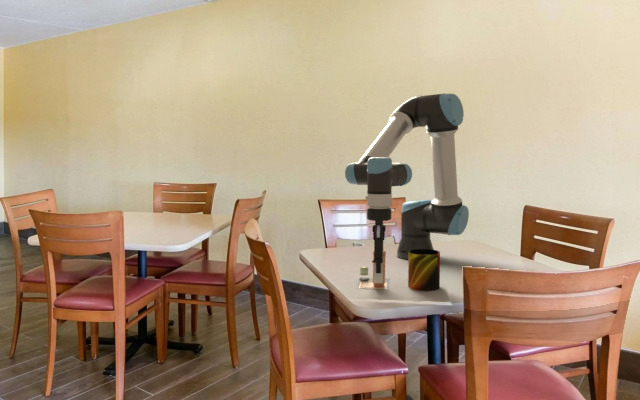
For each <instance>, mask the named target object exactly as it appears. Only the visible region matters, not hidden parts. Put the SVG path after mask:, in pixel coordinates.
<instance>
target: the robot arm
mask: <svg viewBox="0 0 640 400" xmlns="http://www.w3.org/2000/svg"><path fill="white" fill-rule="evenodd" d="M464 114H465V113H464V106H463V103H462V101H461V99H460V98H459V96H458V95H457V94H456V93H444V92H443V93H437V94H436V93H435V94H428V95H416V96H414V97H411V98H409V99H406V100H405V101H404V102H403V103H402V104H400V105H399V106H398V107H396V109H395V110H394V111H393V112H392V113H391V115H389V119H388V123H387V124H386V126H384V128H383V129H382V131H381V132H379V134H378V136H377V137H376V139H375V140H374V141H373V142H372V143H371V145H370V146H369V148H367V150H366V151H365V152H364V154H363V155H362V156H361V157H360V159H359V160H358V162H356V161H354V162H350V163H348V164H347V165H346V167H345V171H344V177H345V179H346V181H347V183H348V184H350V185H358V186H366V187H367V190H366V191H367V193H366V196H365V197H364V199H365V200H366V206H368V207H367V208H366V218H367V220H368V221H373V222H374V224H373V225H372V232H373V233H372V239H373V242H374V245H373V249H374V250H373V251H374V261H373V260H371V263H372V264H373V263H374V283H383V251H384V240H385V238H386V237H385V234H386V228H387V226H386V225H385V224H384V222H388V221H390V220H392V208H391V207H392V205H393V204H392V202H393V200H392V199H393V194H392V189H393V187H402V186H406V185H408V184H409V183H410V182H411V180H412V177H413V170H412V168H411V166H410V165H409V164H407V163H406V162H393V160H392V158H391V157H390V156H391V154H392V153H393V152H394V151H395V149H396V148H397V146H398V144H399V143H400V142H401V140H402V139H403V138H404V136H405V135H406V134H409V133H410V132H411V131H413V129H415V128H420V127H422V128H424V127H425V130H426V131H425V132H426V134H428V135H429V136H430V145H431V160H432V161H431V162H432V172H433V173H432V174H433V176H432V177H433V187H434V189H433V191H434V197H433V199H432V200H430V199H419V200H411V201H404V202H403V203H402V204H401V212H400V214H401V215H400V217H401V218H400V221H401V222H400V223H401V229H400V231H401V235H400V236H401V237H400V241H399V243H398V247H397V250H396V256H397V258H400V259H404V260H408V257H409V250H413V249H432V250H435V249H434V246H433V242H432V240H431V234H437V235H438V234H439V235H440V234H441V235H448V236H460V235H462V234H463V233H464V232H465V230H466V229H467V226H468V222H469V215H470V213H469V207H468V206H467V205H463V199H462V198H461V197H460V196H459V194H458V193H459V192H458V179H457V161H456V160H457V159H456V157H457V156H456V142H455V141H456V140H455V134H456V132H458V130H459V126H460V125H462V123H463V121H464Z"/></svg>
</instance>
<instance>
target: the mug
mask: <svg viewBox="0 0 640 400" xmlns="http://www.w3.org/2000/svg"><path fill="white" fill-rule="evenodd" d="M407 260H408V262H407V264H408V267H407V268H408V270H407V271H408V272H407V278H408V279H407V281H408V283H407V285H408V286H407V287H408V288H409V289H410V290H413V291H419V292H433V291H437V290H440V286H441V285H440V284H441V283H440V282H441V281H440V280H441V278H440V275H441V252H440V251H439V250H437V249H434V250H432V249H413V250H409V257H408V259H407Z"/></svg>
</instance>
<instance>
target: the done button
mask: <svg viewBox="0 0 640 400" xmlns="http://www.w3.org/2000/svg"><path fill="white" fill-rule="evenodd" d="M359 268H360V270H359V271H360V272H359V275H360V276H368V275H369V267H368V266H364V265H363V266H360V267H359Z"/></svg>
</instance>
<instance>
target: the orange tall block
mask: <svg viewBox="0 0 640 400" xmlns="http://www.w3.org/2000/svg"><path fill="white" fill-rule="evenodd" d="M386 253H387V252H386V250H383V283H374V263H372V278H373V283H374V287H384V284H385V278H386V255H387V254H386ZM372 261H374V250H373V251H372Z"/></svg>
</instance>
